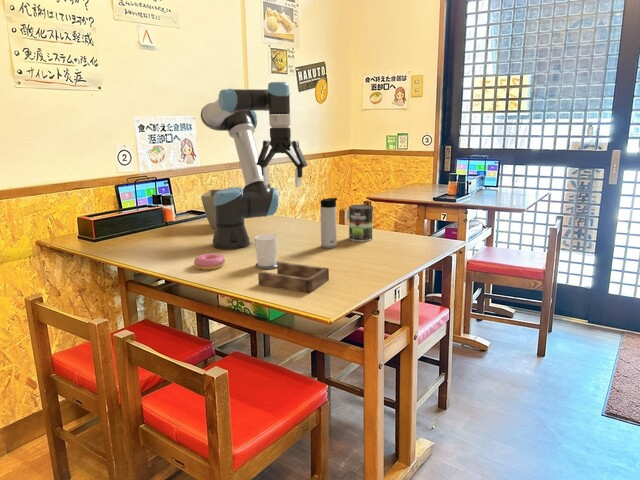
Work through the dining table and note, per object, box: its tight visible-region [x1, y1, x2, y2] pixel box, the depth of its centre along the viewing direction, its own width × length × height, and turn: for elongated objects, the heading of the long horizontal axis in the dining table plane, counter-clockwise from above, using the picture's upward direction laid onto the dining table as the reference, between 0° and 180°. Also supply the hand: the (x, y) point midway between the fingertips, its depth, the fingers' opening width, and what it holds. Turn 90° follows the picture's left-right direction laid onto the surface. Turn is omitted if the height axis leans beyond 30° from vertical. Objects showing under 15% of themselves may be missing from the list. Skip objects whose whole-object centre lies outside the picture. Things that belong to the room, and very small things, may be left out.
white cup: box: [254, 233, 278, 267], centre depth 174 cm, size 8×8×10 cm
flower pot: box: [200, 188, 223, 230], centre depth 237 cm, size 19×19×17 cm
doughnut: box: [193, 252, 226, 271], centre depth 176 cm, size 11×11×4 cm
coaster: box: [255, 260, 279, 271], centre depth 176 cm, size 9×9×1 cm
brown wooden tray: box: [257, 261, 330, 294], centre depth 157 cm, size 18×13×4 cm
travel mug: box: [320, 197, 338, 250], centre depth 197 cm, size 6×7×20 cm
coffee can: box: [348, 204, 374, 243], centre depth 209 cm, size 10×10×14 cm
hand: (282, 185), depth 183 cm, fingers open, 13 cm apart
